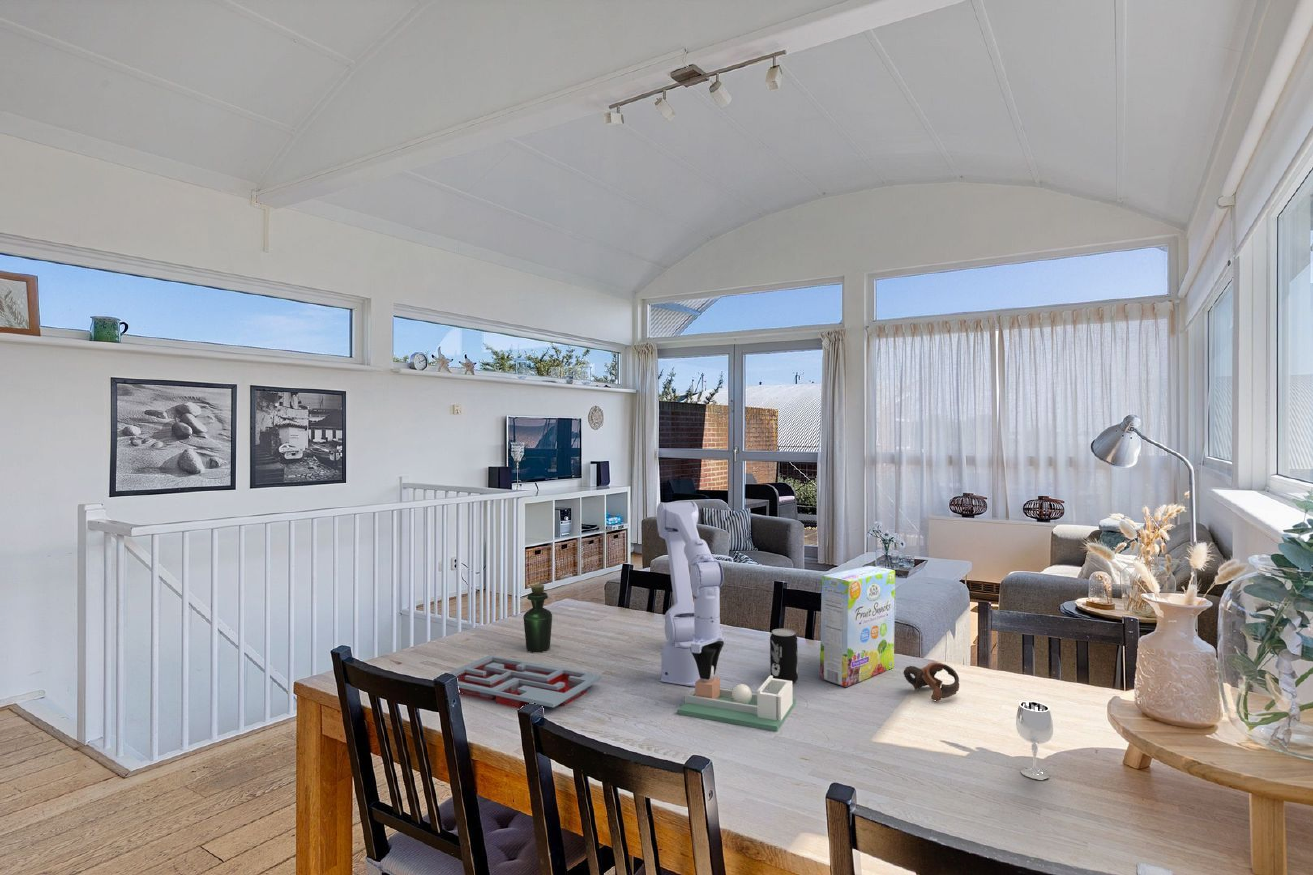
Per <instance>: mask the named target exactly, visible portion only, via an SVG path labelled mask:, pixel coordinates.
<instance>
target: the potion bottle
mask: <svg viewBox="0 0 1313 875" xmlns="http://www.w3.org/2000/svg"><path fill="white" fill-rule="evenodd" d="M530 588H531V593H528V594H527V598H526V599H527V600H529V601H530V602H531V607H532V608H530V609H528V610H527V611H525V613H524V615H523V626H524V629H523V630H524V636H525V647H526V648H525V649H526V650H527V652H529V651H530V652H529V653H533V652H540V653H543V652H542V651H545V652H547V651H549V650H550V648H551V638H552V626H553V625H552V624H553V614H552V612H551V610H549V609H547V608H545V607H544V604H545V600H547V599H548V598H549V596H548V593H547V592H544V589H545V585H544V584H532V585H531V586H530Z"/></svg>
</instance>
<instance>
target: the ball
mask: <svg viewBox="0 0 1313 875" xmlns="http://www.w3.org/2000/svg"><path fill="white" fill-rule="evenodd" d="M732 689H733V691H732V698H733V700H734V702H737V703H743V704H748V703H749V702H750V701H751V699H752V692H753V691H752V689H751V688H750V687H749V686H748V685H746V684H743V683H741V684H736V685H735V686H734V687H733V688H732Z"/></svg>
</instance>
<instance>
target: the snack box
mask: <svg viewBox="0 0 1313 875" xmlns="http://www.w3.org/2000/svg"><path fill="white" fill-rule="evenodd" d="M820 599H821V605H820V650H819V651H820V652H819V653H820V654H819V655H820V661H819V662H820V663H819V664H820V665H819V679H822V680H825V681H827V682H830V683H833V684H836V685H837V686H838V685H839V686H841V687H844V688H848V687H850V686H853V685H855V684H857V683H860V682H862V681H865V680H867V679H869V678H872V677H875V676H877V675H880V674H881V672H882V673H885V672H887V671H890V670H892V669H894V668H895V610H896V609H895V608H896V606H895V603H896V570H894V569H892V568H886V567H878V566H874V565H865V566H862V567H861V566H860V567H857V568H851V569H847V570H843V571H837V572H833V573H830V574H825V575H821V596H820ZM891 668H892V669H891ZM889 669H890V670H889ZM886 670H887V671H886ZM884 671H885V672H884ZM879 673H880V674H879Z"/></svg>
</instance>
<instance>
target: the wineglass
mask: <svg viewBox="0 0 1313 875" xmlns="http://www.w3.org/2000/svg"><path fill="white" fill-rule="evenodd" d="M1015 726H1016V731H1017V733H1018V735H1019V736H1020V737H1021V738H1022V739H1024V740H1025V741H1026V742H1029V743H1031V753H1032V758H1033V759H1032V760H1033V761H1032V767H1030V768H1031V769H1027V771H1028V773H1030V774H1032V775H1043V772H1041V771H1040V770H1041V769H1039V768H1038V767H1037V755H1038V754H1037V753H1038V751H1039V749H1038V748H1039V746H1038V745H1041V744H1045V743H1048V742H1049V741H1050V740H1051V739H1052V738H1053V735H1054V734H1053V733H1054V722H1053V716H1052V713H1051V710H1050V707H1049V706H1048V705H1046V704H1044V703H1041V702H1038V701H1032V700H1031V701H1028V700H1025V701H1020V702H1019V704H1018V708H1017V711H1016V717H1015ZM1038 769H1039V770H1038Z"/></svg>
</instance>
